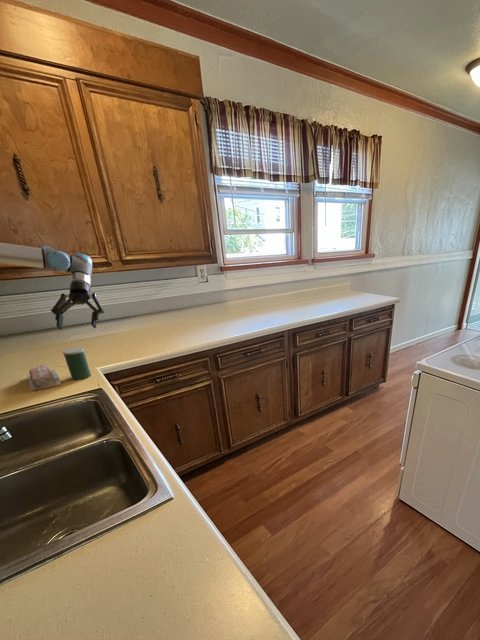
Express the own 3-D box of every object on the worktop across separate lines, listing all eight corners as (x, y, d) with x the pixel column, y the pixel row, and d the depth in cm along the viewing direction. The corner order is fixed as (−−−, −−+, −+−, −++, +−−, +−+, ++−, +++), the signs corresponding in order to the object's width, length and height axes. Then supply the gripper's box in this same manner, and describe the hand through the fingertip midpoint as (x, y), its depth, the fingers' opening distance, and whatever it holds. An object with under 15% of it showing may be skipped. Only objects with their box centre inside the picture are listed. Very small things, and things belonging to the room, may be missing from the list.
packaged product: (57, 374, 130) (26, 380, 124) (62, 385, 132) (31, 392, 126) (52, 362, 142) (23, 367, 136) (56, 372, 144) (28, 378, 138)
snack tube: (68, 380, 136) (59, 353, 131) (76, 374, 142) (67, 347, 137) (87, 379, 137) (78, 352, 132) (93, 373, 144) (85, 346, 138)
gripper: (113, 290, 152) (111, 330, 146) (54, 291, 148) (49, 332, 142) (106, 279, 145) (103, 321, 139) (44, 280, 141) (39, 323, 135)
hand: (76, 327), depth 140 cm, fingers open, 13 cm apart
